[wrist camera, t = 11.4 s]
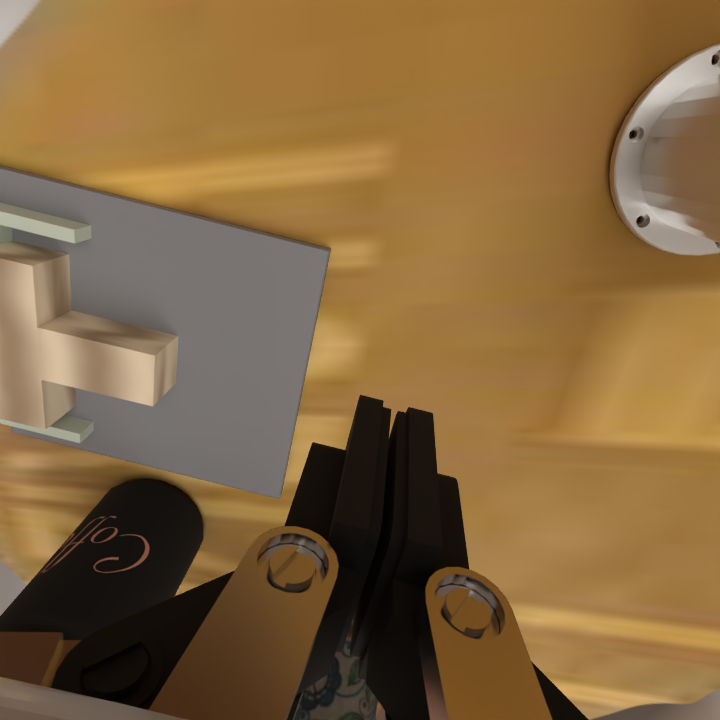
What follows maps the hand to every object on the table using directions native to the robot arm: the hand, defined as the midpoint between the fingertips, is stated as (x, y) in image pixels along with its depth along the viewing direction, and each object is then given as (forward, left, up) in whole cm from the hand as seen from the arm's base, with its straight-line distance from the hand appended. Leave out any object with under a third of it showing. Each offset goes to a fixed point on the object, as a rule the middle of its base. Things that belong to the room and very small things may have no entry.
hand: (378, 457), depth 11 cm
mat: (+18, +14, -27) cm, 35 cm away
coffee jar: (+17, +33, -27) cm, 46 cm away
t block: (+22, +14, -26) cm, 37 cm away
